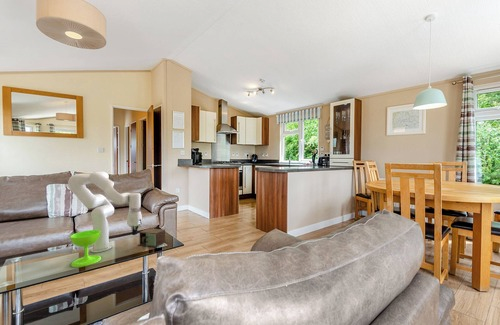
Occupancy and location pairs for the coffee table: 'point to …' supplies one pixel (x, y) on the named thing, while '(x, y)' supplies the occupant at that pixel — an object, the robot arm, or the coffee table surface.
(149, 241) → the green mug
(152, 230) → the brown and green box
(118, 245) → the coffee table surface
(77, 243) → the wineglass
